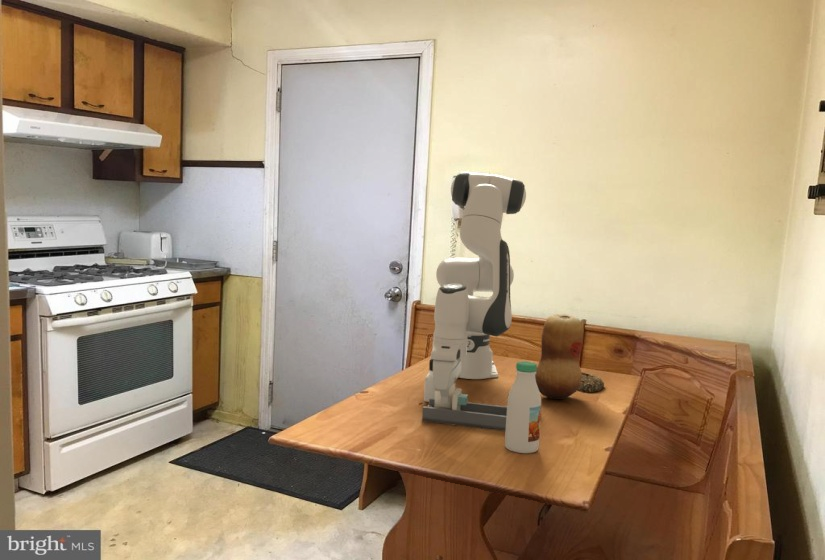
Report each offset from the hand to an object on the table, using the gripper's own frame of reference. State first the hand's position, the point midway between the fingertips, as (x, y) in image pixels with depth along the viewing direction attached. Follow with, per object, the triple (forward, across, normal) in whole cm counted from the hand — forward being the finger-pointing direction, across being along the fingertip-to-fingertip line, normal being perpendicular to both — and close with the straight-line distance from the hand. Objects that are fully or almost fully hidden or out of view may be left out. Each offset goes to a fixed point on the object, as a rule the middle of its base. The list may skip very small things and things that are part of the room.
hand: (447, 399), depth 167 cm
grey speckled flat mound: (+6, -48, +35) cm, 60 cm away
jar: (+3, 0, -1) cm, 3 cm away
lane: (+5, 0, +7) cm, 8 cm away
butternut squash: (+5, -31, +28) cm, 42 cm away
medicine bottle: (+5, -16, -6) cm, 18 cm away
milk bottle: (+5, +15, +21) cm, 26 cm away
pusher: (+4, 0, +3) cm, 5 cm away
